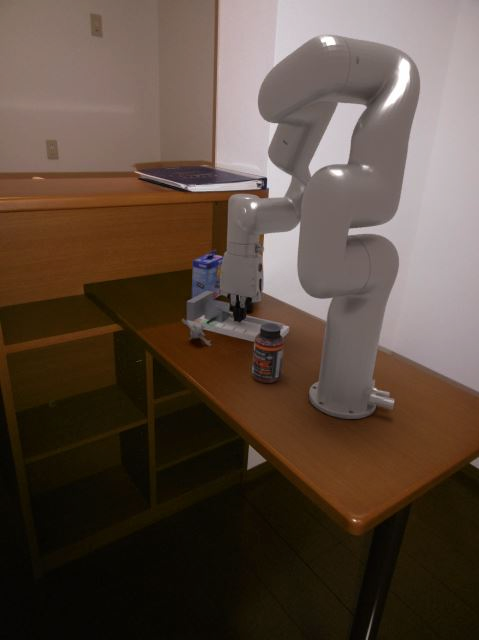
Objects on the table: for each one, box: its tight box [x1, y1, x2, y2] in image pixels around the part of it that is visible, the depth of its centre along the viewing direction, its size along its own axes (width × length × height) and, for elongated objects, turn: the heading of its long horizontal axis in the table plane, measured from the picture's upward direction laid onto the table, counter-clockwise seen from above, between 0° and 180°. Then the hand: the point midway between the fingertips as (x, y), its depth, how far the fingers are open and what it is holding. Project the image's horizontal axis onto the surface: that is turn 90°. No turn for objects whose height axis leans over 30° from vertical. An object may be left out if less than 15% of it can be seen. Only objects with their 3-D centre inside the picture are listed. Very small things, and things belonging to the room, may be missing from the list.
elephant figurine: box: [181, 318, 213, 347], centre depth 107 cm, size 9×6×8 cm
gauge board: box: [186, 291, 290, 343], centre depth 114 cm, size 24×10×6 cm, turn 64°
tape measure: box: [229, 296, 254, 312], centre depth 128 cm, size 7×7×4 cm
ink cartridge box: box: [191, 249, 224, 300], centre depth 133 cm, size 10×6×14 cm, turn 155°
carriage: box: [205, 299, 230, 323], centre depth 116 cm, size 5×7×4 cm
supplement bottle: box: [251, 323, 285, 384], centre depth 91 cm, size 6×6×11 cm
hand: (239, 320), depth 115 cm, fingers closed
